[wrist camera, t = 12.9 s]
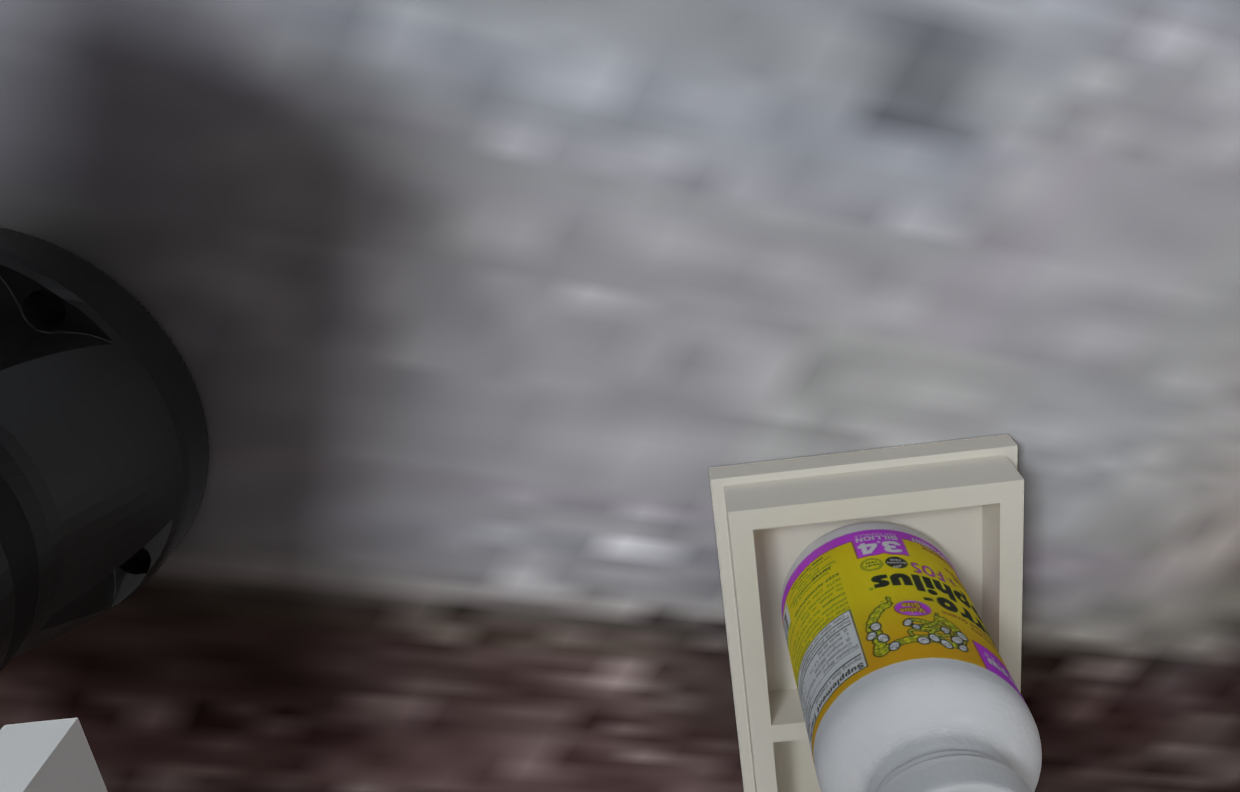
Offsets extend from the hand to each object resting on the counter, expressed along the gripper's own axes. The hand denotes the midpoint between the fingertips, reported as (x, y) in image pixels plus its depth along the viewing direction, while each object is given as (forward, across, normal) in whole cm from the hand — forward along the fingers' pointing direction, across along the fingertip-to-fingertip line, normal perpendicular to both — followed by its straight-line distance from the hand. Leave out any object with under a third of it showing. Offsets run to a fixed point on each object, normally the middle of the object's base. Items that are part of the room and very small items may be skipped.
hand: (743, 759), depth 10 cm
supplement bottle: (+26, +6, -15) cm, 31 cm away
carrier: (+27, +6, -20) cm, 34 cm away
